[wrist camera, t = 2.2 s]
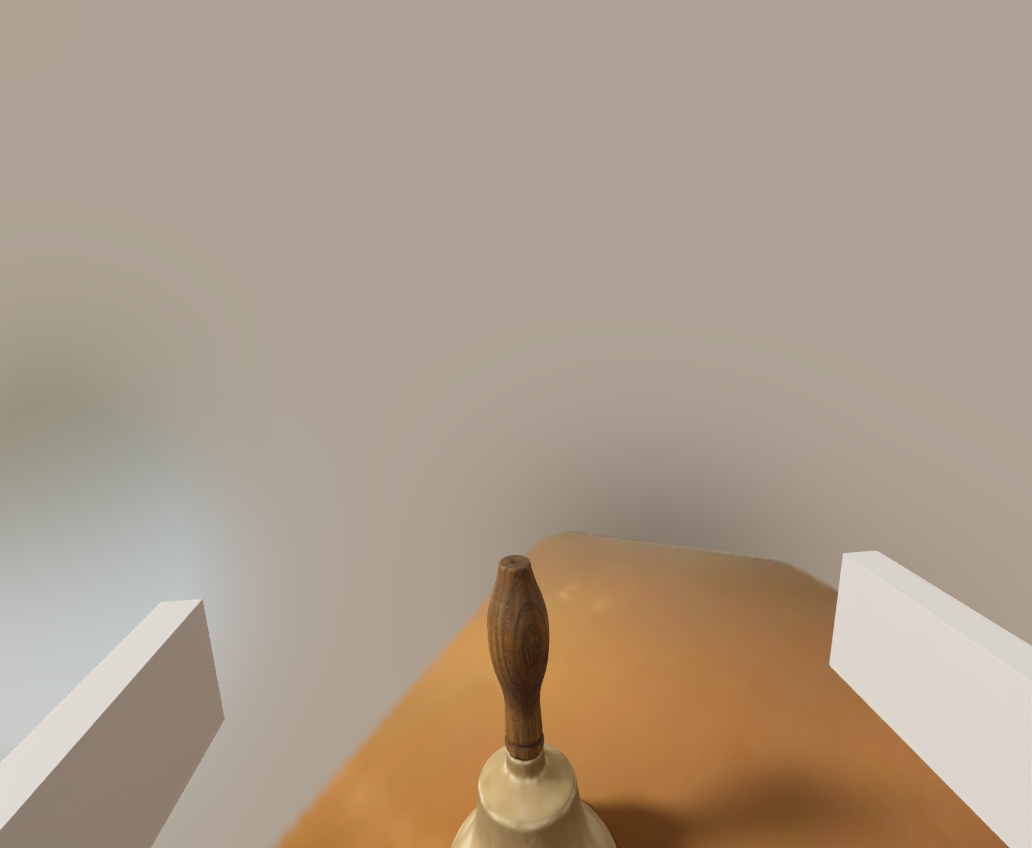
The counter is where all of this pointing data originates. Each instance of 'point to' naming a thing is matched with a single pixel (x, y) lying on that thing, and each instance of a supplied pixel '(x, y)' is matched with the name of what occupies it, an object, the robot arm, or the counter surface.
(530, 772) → the hand bell
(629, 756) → the counter surface
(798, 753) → the counter surface
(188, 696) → the robot arm
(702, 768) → the counter surface
